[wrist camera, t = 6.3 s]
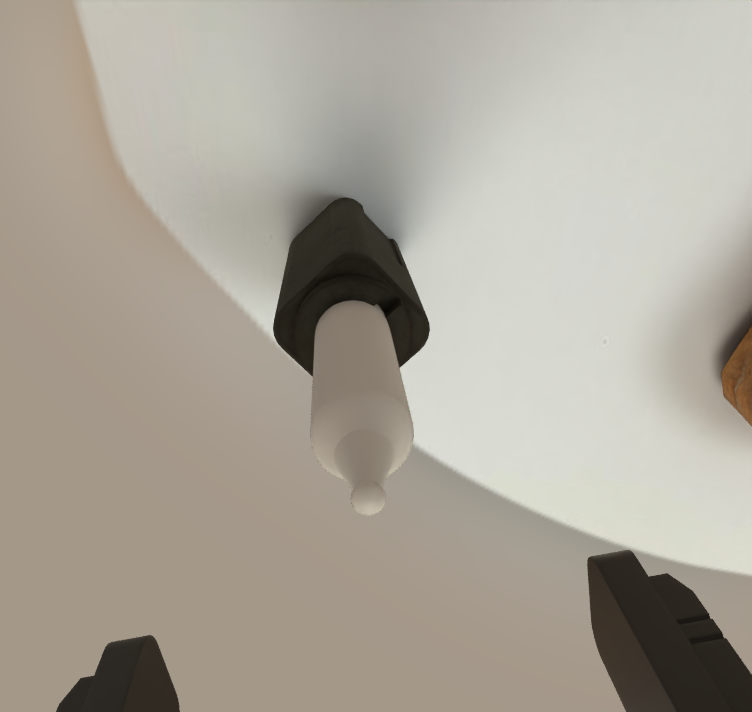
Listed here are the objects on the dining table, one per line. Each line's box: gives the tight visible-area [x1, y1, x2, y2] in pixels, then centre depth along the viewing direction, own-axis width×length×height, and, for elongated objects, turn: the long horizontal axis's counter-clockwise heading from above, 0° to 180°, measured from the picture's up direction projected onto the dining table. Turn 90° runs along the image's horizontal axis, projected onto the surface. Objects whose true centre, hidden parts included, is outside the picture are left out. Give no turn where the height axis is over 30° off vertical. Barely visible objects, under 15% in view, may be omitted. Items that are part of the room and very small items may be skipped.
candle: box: [273, 198, 430, 515], centre depth 28 cm, size 5×5×25 cm
